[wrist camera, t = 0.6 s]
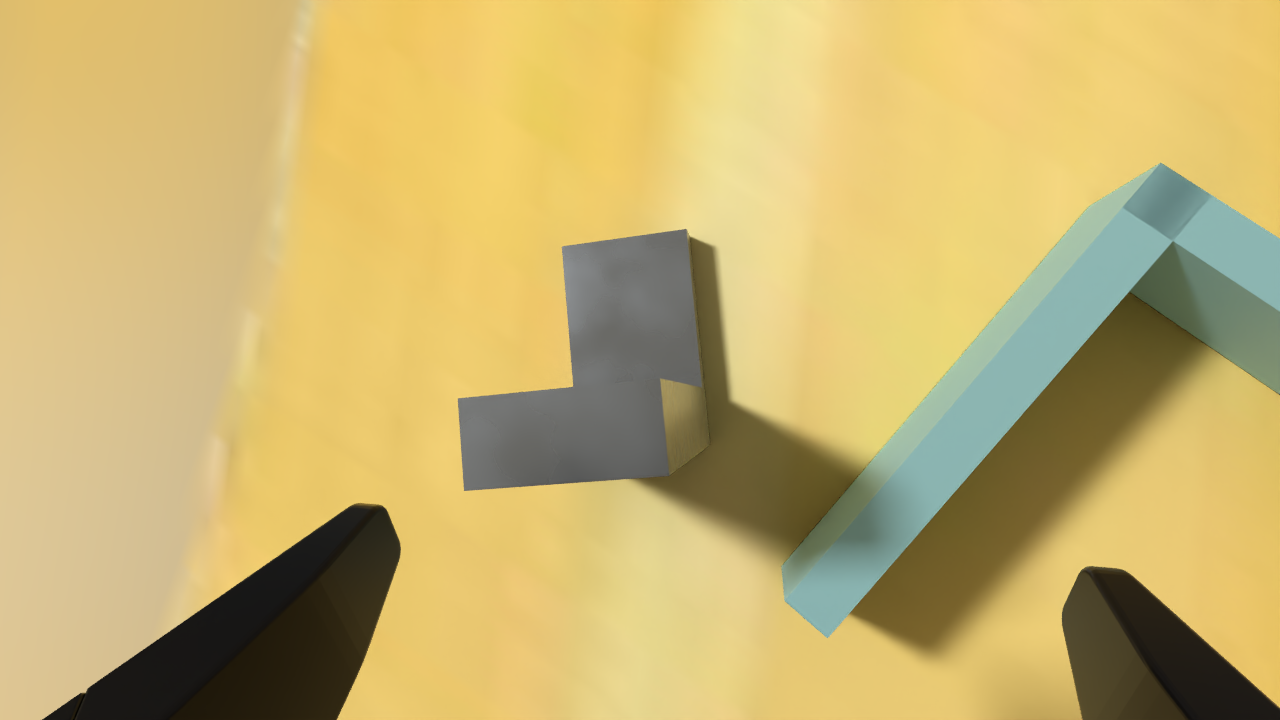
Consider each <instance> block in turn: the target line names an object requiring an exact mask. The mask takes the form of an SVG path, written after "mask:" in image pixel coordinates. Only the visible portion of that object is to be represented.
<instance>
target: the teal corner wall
mask: <svg viewBox="0 0 1280 720" xmlns="http://www.w3.org/2000/svg"><path fill="white" fill-rule="evenodd" d="M1128 292H1131V293H1132V294H1134V295H1135V296H1137V297H1138V298H1139V299H1141V300H1142V301H1144V302H1145V303H1147V304H1148V305H1150V306H1151V307H1153V308H1154V309H1155V310H1157V311H1158V312H1160V313H1161V314H1163V315H1164V316H1166V317H1167V318H1169V319H1170V320H1172V321H1173V322H1174V323H1176V324H1177V325H1179V326H1180V327H1182V328H1183V329H1185V330H1186V331H1188V332H1189V333H1191V334H1192V335H1193V336H1195V337H1196V338H1198V339H1199V340H1201V341H1202V342H1204V343H1205V344H1207V345H1208V346H1209V347H1211V348H1212V349H1214V350H1215V351H1217V352H1218V353H1220V354H1221V355H1223V356H1224V357H1226V358H1227V359H1228V360H1230V361H1231V362H1233V363H1234V364H1236V365H1237V366H1239V367H1240V368H1242V369H1243V370H1245V371H1246V372H1247V373H1249V374H1250V375H1252V376H1253V377H1255V378H1256V379H1258V380H1259V381H1261V382H1262V383H1263V384H1265V385H1266V386H1268V387H1269V388H1271V389H1272V390H1274V391H1275V392H1277V393H1278V394H1280V239H1279V238H1278V237H1276V236H1275V235H1273V234H1272V233H1270V232H1268V231H1267V230H1265V229H1264V228H1262V227H1261V226H1259V225H1257V224H1256V223H1254V222H1253V221H1251V220H1250V219H1248V218H1246V217H1245V216H1243V215H1242V214H1240V213H1239V212H1237V211H1236V210H1234V209H1232V208H1231V207H1229V206H1228V205H1226V204H1225V203H1223V202H1221V201H1220V200H1218V199H1217V198H1215V197H1214V196H1212V195H1211V194H1209V193H1207V192H1206V191H1204V190H1203V189H1201V188H1200V187H1198V186H1196V185H1195V184H1193V183H1192V182H1190V181H1189V180H1187V179H1185V178H1184V177H1182V176H1181V175H1179V174H1178V173H1176V172H1175V171H1173V170H1171V169H1170V168H1168V167H1167V166H1165V165H1164V164H1162V163H1159V164H1158V165H1156V166H1154V167H1153V168H1151V169H1150V170H1148V171H1146V172H1145V173H1143V174H1141V175H1140V176H1138V177H1136V178H1135V179H1133V180H1131V181H1130V182H1128V183H1126V184H1125V185H1123V186H1122V187H1120V188H1118V189H1117V190H1115V191H1113V192H1112V193H1110V194H1108V195H1107V196H1105V197H1103V198H1102V199H1100V200H1098V201H1097V202H1095V203H1094V204H1092V205H1090V206H1089V207H1088V208H1087V209H1086V210H1085V212H1084V213H1083V214H1082V215H1081V216H1080V217H1079V219H1078V220H1077V221H1076V222H1075V223H1074V224H1073V226H1072V227H1071V228H1070V229H1069V230H1068V231H1067V233H1066V234H1065V235H1064V236H1063V237H1062V238H1061V240H1060V241H1059V242H1058V243H1057V244H1056V245H1055V247H1054V248H1053V249H1052V250H1051V251H1050V253H1049V254H1048V255H1047V256H1046V257H1045V258H1044V260H1043V261H1042V262H1041V263H1040V264H1039V265H1038V267H1037V268H1036V269H1035V270H1034V271H1033V272H1032V274H1031V275H1030V276H1029V277H1028V278H1027V279H1026V281H1025V282H1024V283H1023V284H1022V285H1021V286H1020V288H1019V289H1018V290H1017V291H1016V292H1015V293H1014V295H1013V296H1012V297H1011V298H1010V299H1009V301H1008V302H1007V303H1006V304H1005V305H1004V306H1003V308H1002V309H1001V310H1000V311H999V312H998V313H997V315H996V316H995V317H994V318H993V319H992V320H991V322H990V323H989V324H988V325H987V326H986V327H985V329H984V330H983V331H982V332H981V333H980V334H979V336H978V337H977V338H976V339H975V340H974V341H973V343H972V344H971V345H970V346H969V347H968V349H967V350H966V351H965V352H964V353H963V354H962V356H961V357H960V358H959V359H958V360H957V361H956V363H955V364H954V365H953V366H952V367H951V368H950V370H949V371H948V372H947V373H946V374H945V375H944V377H943V378H942V379H941V380H940V381H939V382H938V384H937V385H936V386H935V387H934V388H933V390H932V391H931V392H930V393H929V394H928V395H927V397H926V398H925V399H924V400H923V401H922V402H921V404H920V405H919V406H918V407H917V408H916V409H915V411H914V412H913V413H912V414H911V415H910V416H909V418H908V419H907V420H906V421H905V422H904V423H903V425H902V426H901V427H900V428H899V429H898V430H897V432H896V433H895V434H894V435H893V436H892V438H891V439H890V440H889V441H888V442H887V443H886V445H885V446H884V447H883V448H882V449H881V450H880V452H879V453H878V454H877V455H876V456H875V457H874V459H873V460H872V461H871V462H870V463H869V464H868V466H867V467H866V468H865V469H864V470H863V471H862V473H861V474H860V475H859V476H858V477H857V478H856V480H855V481H854V482H853V483H852V484H851V486H850V487H849V488H848V489H847V490H846V491H845V493H844V494H843V495H842V496H841V497H840V498H839V500H838V501H837V502H836V503H835V504H834V505H833V507H832V508H831V509H830V510H829V511H828V512H827V514H826V515H825V516H824V517H823V518H822V519H821V521H820V522H819V523H818V524H817V525H816V526H815V528H814V529H813V530H812V531H811V532H810V534H809V535H808V536H807V537H806V538H805V539H804V541H803V542H802V543H801V544H800V545H799V546H798V548H797V549H796V550H795V551H794V552H793V553H792V555H791V556H790V557H789V558H788V559H787V560H786V562H785V563H784V564H783V565H782V566H781V567H782V578H783V589H784V600H785V602H787V603H788V604H789V605H790V606H791V607H792V608H793V609H795V610H796V611H797V612H798V613H799V614H800V615H801V616H803V617H804V618H805V619H806V620H807V621H808V622H809V623H811V624H812V625H813V626H814V627H815V628H816V629H817V630H819V631H820V632H821V633H822V634H823V635H824V636H825V637H827V638H828V637H829V636H830V635H831V634H832V633H833V631H834V630H835V629H836V628H837V627H838V626H839V625H840V623H841V622H842V621H843V620H844V619H845V618H846V617H847V615H848V614H849V613H850V612H851V611H852V610H853V608H854V607H855V606H856V605H857V604H858V603H859V602H860V600H861V599H862V598H863V597H864V596H865V595H866V594H867V592H868V591H869V590H870V589H871V588H872V587H873V585H874V584H875V583H876V582H877V581H878V580H879V579H880V577H881V576H882V575H883V574H884V573H885V572H886V571H887V569H888V568H889V567H890V566H891V565H892V564H893V562H894V561H895V560H896V559H897V558H898V557H899V556H900V554H901V553H902V552H903V551H904V550H905V549H906V548H907V546H908V545H909V544H910V543H911V542H912V541H913V539H914V538H915V537H916V536H917V535H918V534H919V533H920V531H921V530H922V529H923V528H924V527H925V526H926V525H927V523H928V522H929V521H930V520H931V519H932V518H933V516H934V515H935V514H936V513H937V512H938V511H939V510H940V508H941V507H942V506H943V505H944V504H945V503H946V502H947V500H948V499H949V498H950V497H951V496H952V495H953V493H954V492H955V491H956V490H957V489H958V488H959V487H960V485H961V484H962V483H963V482H964V481H965V480H966V479H967V477H968V476H969V475H970V474H971V473H972V472H973V470H974V469H975V468H976V467H977V466H978V465H979V464H980V462H981V461H982V460H983V459H984V458H985V457H986V456H987V454H988V453H989V452H990V451H991V450H992V449H993V447H994V446H995V445H996V444H997V443H998V442H999V441H1000V439H1001V438H1002V437H1003V436H1004V435H1005V434H1006V433H1007V431H1008V430H1009V429H1010V428H1011V427H1012V426H1013V424H1014V423H1015V422H1016V421H1017V420H1018V419H1019V418H1020V416H1021V415H1022V414H1023V413H1024V412H1025V411H1026V410H1027V408H1028V407H1029V406H1030V405H1031V404H1032V403H1033V401H1034V400H1035V399H1036V398H1037V397H1038V396H1039V395H1040V393H1041V392H1042V391H1043V390H1044V389H1045V388H1046V387H1047V385H1048V384H1049V383H1050V382H1051V381H1052V380H1053V378H1054V377H1055V376H1056V375H1057V374H1058V373H1059V372H1060V370H1061V369H1062V368H1063V367H1064V366H1065V365H1066V364H1067V362H1068V361H1069V360H1070V359H1071V358H1072V357H1073V355H1074V354H1075V353H1076V352H1077V351H1078V350H1079V349H1080V347H1081V346H1082V345H1083V344H1084V343H1085V342H1086V341H1087V339H1088V338H1089V337H1090V336H1091V335H1092V334H1093V332H1094V331H1095V330H1096V329H1097V328H1098V327H1099V326H1100V324H1101V323H1102V322H1103V321H1104V320H1105V319H1106V318H1107V316H1108V315H1109V314H1110V313H1111V312H1112V311H1113V309H1114V308H1115V307H1116V306H1117V305H1118V304H1119V303H1120V301H1121V300H1122V299H1123V298H1124V297H1125V296H1126V295H1127V293H1128Z"/></svg>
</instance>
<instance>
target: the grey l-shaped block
mask: <svg viewBox="0 0 1280 720" xmlns="http://www.w3.org/2000/svg"><path fill="white" fill-rule="evenodd" d="M562 253H563V265H564V278H565V290H566V302H567V314H568V326H569V338H570V350H571V362H572V375H573V387H569V388H559V389H549V390H539V391H529V392H519V393H509V394H499V395H489V396H479V397H469V398H459V399H458V407H459V422H460V437H461V451H462V466H463V480H464V491H468V490H482V489H496V488H510V487H523V486H537V485H551V484H565V483H578V482H592V481H606V480H619V479H633V478H647V477H661V476H670V475H671V474H672V473H674V472H675V471H676V470H678V469H679V468H680V467H682V466H683V465H684V464H686V463H687V462H688V461H690V460H691V459H692V458H694V457H695V456H696V455H697V454H699V453H700V452H701V451H703V450H704V449H705V448H707V447H708V446H709V445H710V437H709V427H708V417H707V407H706V396H705V386H704V376H703V366H702V356H701V345H700V335H699V325H698V315H697V305H696V295H695V284H694V274H693V264H692V254H691V244H690V236H689V233H688V231H687V229H684V230H677V231H670V232H663V233H655V234H648V235H641V236H634V237H627V238H620V239H613V240H605V241H598V242H591V243H584V244H577V245H570V246H563V247H562Z"/></svg>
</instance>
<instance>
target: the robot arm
mask: <svg viewBox="0 0 1280 720" xmlns="http://www.w3.org/2000/svg"><path fill="white" fill-rule="evenodd" d="M400 553H401V547H400V541H399V539H398V536H397V534H396V531H395V529H394V526H393V524H392V521H391V519H390V516H389V514H388V512H387V510H386V509H385V508H384V507H383V506H381V505H376V504H364V503H357V504H354V505H352V506H350V507H348V508H347V509H345V510H344V511H342V512H341V513H339V514H338V515H337V516H335V517H334V518H332V519H331V520H329V521H328V522H326V523H325V524H324V525H322V526H321V527H319V528H318V529H316V530H315V531H314V532H312V533H311V534H309V535H308V536H306V537H305V538H303V539H302V540H301V541H299V542H298V543H296V544H295V545H293V546H292V547H290V548H289V549H288V550H286V551H285V552H283V553H282V554H280V555H279V556H278V557H276V558H275V559H273V560H272V561H270V562H269V563H267V564H266V565H265V566H263V567H262V568H260V569H259V570H257V571H256V572H254V573H253V574H252V575H250V576H249V577H247V578H246V579H244V580H243V581H242V582H240V583H239V584H237V585H236V586H234V587H233V588H231V589H230V590H229V591H227V592H226V593H224V594H223V595H221V596H220V597H219V598H217V599H216V600H214V601H213V602H211V603H210V604H208V605H207V606H206V607H204V608H203V609H201V610H200V611H198V612H197V613H195V614H194V615H193V616H191V617H190V618H188V619H187V620H185V621H184V622H183V623H181V624H180V625H178V626H177V627H175V628H174V629H172V630H171V631H170V632H168V633H167V634H165V635H164V636H162V637H161V638H159V639H158V640H157V641H155V642H154V643H152V644H151V645H149V646H148V647H147V648H145V649H144V650H142V651H141V652H139V653H138V654H136V655H135V656H134V657H132V658H131V659H129V660H128V661H126V662H125V663H123V664H122V665H121V666H119V667H118V668H116V669H115V670H113V671H112V672H110V673H109V674H108V675H106V676H105V677H103V678H102V679H100V680H99V681H97V682H96V683H95V684H93V685H92V686H90V687H89V688H88V689H87V691H86V693H80V694H79V695H77V696H76V697H74V698H73V699H71V700H70V701H68V702H67V703H66V704H64V705H63V706H61V707H60V708H58V709H57V710H56V711H54V712H53V713H51V714H50V715H48V716H47V717H45V718H44V719H42V720H337V718H338V716H339V714H340V712H341V709H342V707H343V705H344V703H345V701H346V699H347V697H348V694H349V692H350V690H351V688H352V686H353V684H354V681H355V679H356V677H357V675H358V672H359V670H360V668H361V666H362V663H363V661H364V658H365V656H366V653H367V651H368V648H369V645H370V643H371V640H372V637H373V634H374V631H375V628H376V625H377V622H378V620H379V617H380V614H381V611H382V608H383V605H384V602H385V599H386V597H387V594H388V591H389V588H390V585H391V582H392V579H393V576H394V574H395V571H396V568H397V565H398V562H399V558H400ZM1062 626H1063V631H1064V636H1065V641H1066V645H1067V650H1068V655H1069V659H1070V664H1071V669H1072V673H1073V678H1074V683H1075V687H1076V692H1077V696H1078V701H1079V706H1080V710H1081V715H1082V720H1280V708H1279V707H1278V706H1277V705H1276V704H1275V703H1274V702H1273V701H1271V700H1270V699H1269V698H1268V697H1267V696H1266V695H1265V694H1264V693H1263V692H1261V691H1260V690H1259V689H1258V688H1257V687H1256V686H1255V685H1254V684H1253V683H1251V682H1250V681H1249V680H1248V679H1247V678H1246V677H1245V676H1244V675H1243V674H1241V673H1240V672H1239V671H1238V670H1237V669H1236V668H1235V667H1234V666H1232V665H1231V664H1230V663H1229V662H1228V661H1227V660H1226V659H1225V658H1224V657H1222V656H1221V655H1220V654H1219V653H1218V652H1217V651H1216V650H1215V649H1214V648H1212V647H1211V646H1210V645H1209V644H1208V643H1207V642H1206V641H1205V640H1204V639H1202V638H1201V637H1200V636H1199V635H1198V634H1197V633H1196V632H1195V631H1193V630H1192V629H1191V628H1190V627H1189V626H1188V625H1187V624H1186V623H1185V622H1183V621H1182V620H1181V619H1180V618H1179V617H1178V616H1177V615H1176V614H1175V613H1173V612H1172V611H1171V610H1170V609H1169V608H1168V607H1167V606H1166V605H1165V604H1163V603H1162V602H1161V601H1160V600H1159V599H1158V598H1157V597H1156V596H1155V595H1153V594H1152V593H1151V592H1150V591H1149V590H1148V589H1147V588H1146V587H1144V586H1143V585H1142V584H1141V583H1140V582H1139V581H1138V580H1137V579H1136V578H1134V577H1133V576H1132V575H1131V574H1129V573H1128V572H1126V571H1124V570H1121V569H1117V568H1105V567H1094V566H1089V567H1085V568H1084V569H1082V570H1081V572H1080V573H1079V575H1078V577H1077V579H1076V581H1075V583H1074V586H1073V588H1072V590H1071V592H1070V594H1069V596H1068V598H1067V600H1066V603H1065V605H1064V608H1063V612H1062Z"/></svg>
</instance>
